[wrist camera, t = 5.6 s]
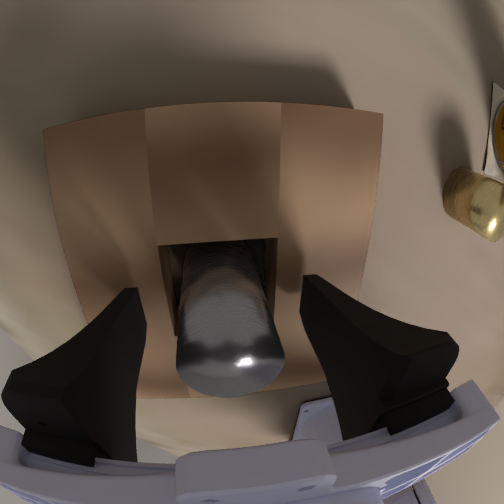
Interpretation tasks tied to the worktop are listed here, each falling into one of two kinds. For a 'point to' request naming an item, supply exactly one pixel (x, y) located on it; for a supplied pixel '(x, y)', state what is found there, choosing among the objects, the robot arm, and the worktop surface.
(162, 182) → the hole block
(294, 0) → the worktop surface
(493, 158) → the condiment
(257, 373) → the grey cylinder
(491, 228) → the short stub
